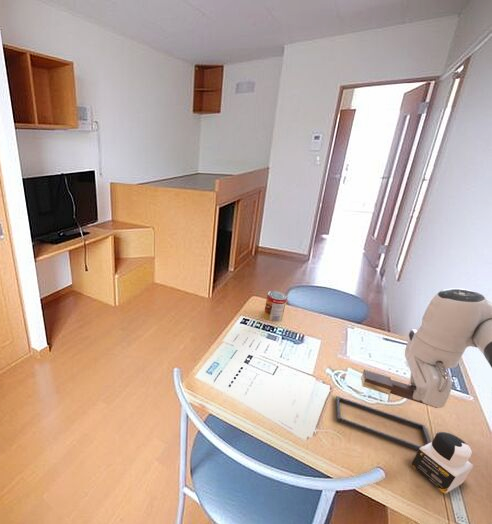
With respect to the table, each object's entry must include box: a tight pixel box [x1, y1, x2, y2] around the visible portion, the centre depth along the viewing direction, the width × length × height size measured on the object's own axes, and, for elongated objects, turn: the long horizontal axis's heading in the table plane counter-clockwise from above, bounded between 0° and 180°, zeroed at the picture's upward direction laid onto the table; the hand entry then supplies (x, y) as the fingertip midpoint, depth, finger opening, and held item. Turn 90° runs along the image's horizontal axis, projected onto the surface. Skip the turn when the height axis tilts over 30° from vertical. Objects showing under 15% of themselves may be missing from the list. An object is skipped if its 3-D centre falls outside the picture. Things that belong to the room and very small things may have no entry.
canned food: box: [263, 290, 288, 323], centre depth 136 cm, size 8×8×12 cm
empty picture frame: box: [335, 395, 431, 452], centre depth 86 cm, size 21×9×2 cm, turn 61°
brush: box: [360, 369, 438, 409], centre depth 81 cm, size 16×4×3 cm, turn 61°
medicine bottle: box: [410, 431, 474, 495], centre depth 72 cm, size 7×7×12 cm
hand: (414, 393), depth 79 cm, fingers closed on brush, 2 cm apart
